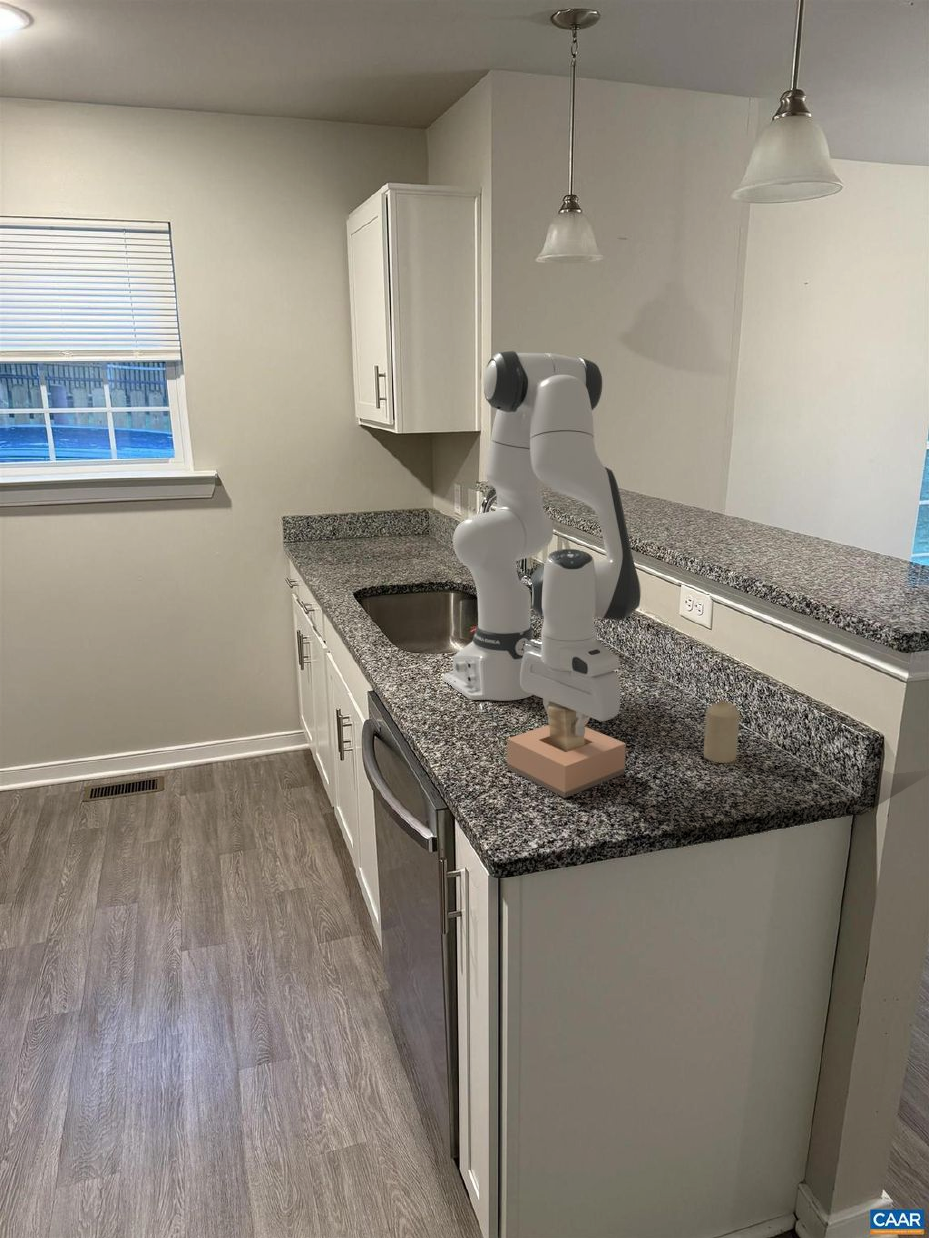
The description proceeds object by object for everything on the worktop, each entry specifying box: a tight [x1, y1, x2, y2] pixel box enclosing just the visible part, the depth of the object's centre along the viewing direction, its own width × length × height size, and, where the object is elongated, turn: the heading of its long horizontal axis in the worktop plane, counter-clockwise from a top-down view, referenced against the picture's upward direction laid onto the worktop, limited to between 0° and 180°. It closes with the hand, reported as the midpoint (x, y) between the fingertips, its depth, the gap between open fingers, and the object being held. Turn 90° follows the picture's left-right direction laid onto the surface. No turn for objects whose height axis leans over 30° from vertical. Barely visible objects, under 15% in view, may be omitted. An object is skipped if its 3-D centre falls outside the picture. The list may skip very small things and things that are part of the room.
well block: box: [506, 724, 627, 799], centre depth 142 cm, size 14×14×6 cm
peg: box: [547, 703, 585, 752], centre depth 141 cm, size 4×4×10 cm
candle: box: [703, 700, 741, 764], centre depth 146 cm, size 6×6×10 cm
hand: (566, 729), depth 141 cm, fingers closed on peg, 4 cm apart
